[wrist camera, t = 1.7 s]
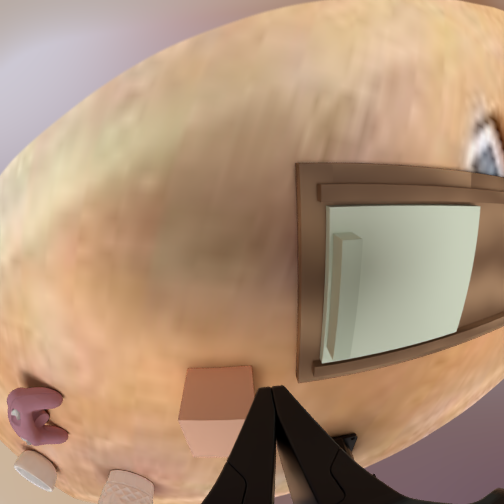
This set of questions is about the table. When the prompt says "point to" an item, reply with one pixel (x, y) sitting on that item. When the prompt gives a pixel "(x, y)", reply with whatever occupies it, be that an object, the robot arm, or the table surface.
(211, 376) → the block
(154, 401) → the table surface
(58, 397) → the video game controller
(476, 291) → the board
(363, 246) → the lid
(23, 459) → the teacup
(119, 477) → the white cup
